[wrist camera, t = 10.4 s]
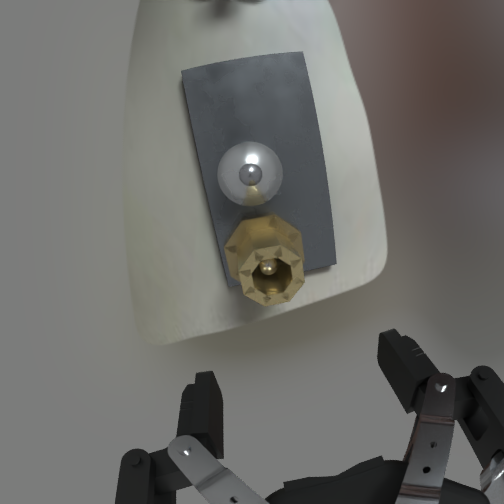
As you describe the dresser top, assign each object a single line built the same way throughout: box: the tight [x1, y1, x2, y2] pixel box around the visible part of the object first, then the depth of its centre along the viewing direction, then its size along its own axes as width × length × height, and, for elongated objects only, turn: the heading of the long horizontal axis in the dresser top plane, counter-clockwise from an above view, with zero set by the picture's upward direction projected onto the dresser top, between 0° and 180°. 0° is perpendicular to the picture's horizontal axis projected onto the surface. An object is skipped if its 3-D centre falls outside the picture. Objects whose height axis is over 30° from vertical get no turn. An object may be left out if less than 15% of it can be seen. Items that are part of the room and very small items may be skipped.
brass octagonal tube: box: [224, 212, 305, 306], centre depth 25 cm, size 7×7×6 cm
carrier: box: [181, 52, 337, 287], centre depth 24 cm, size 21×11×5 cm, turn 11°
